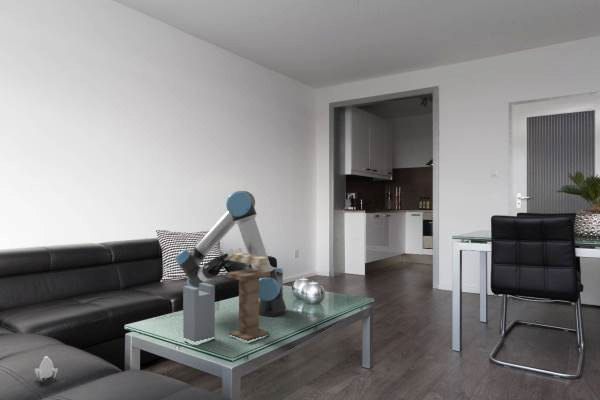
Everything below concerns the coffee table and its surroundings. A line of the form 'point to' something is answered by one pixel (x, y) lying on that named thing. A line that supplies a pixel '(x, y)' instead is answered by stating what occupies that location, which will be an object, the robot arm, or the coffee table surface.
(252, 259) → the birch bar
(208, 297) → the slotted block
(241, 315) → the walnut stand
